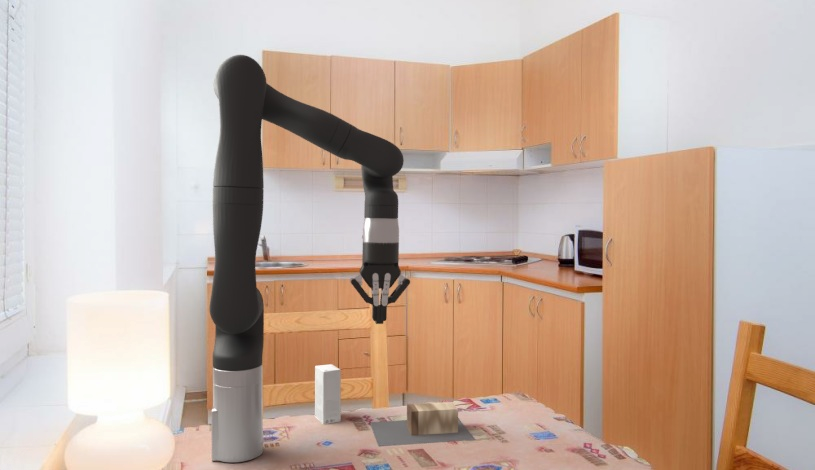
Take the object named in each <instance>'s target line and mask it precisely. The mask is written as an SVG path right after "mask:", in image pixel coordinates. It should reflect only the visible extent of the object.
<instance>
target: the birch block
mask: <svg viewBox="0 0 815 470" xmlns="http://www.w3.org/2000/svg"><path fill="white" fill-rule="evenodd" d="M458 418H459V409H458V407H457V406H456V405H455V403H454V402H453V401H445V402H444V401H442V402H425V403H422V402H421V403H407V404H406V420H407V428H408V430H409V432H410V434H411V436H412V435H427V434H443V433H458Z"/></svg>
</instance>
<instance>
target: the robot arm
mask: <svg viewBox="0 0 815 470" xmlns="http://www.w3.org/2000/svg"><path fill="white" fill-rule="evenodd" d="M213 91H214V93H215V95H216V98H217V100H218V107H219V125H220V127H219V138H218V144H217V150H216V156H215V162H214V169H213V170H214V171H213V179H212V180H213V181H212V226H213V227H212V228H213V242H214V243H213V244H214V245H213V246H214V270H213V279H212V287H211V293H210V299H209V301H210V302H209V314H210V317H211V320H212V322H213V324H214V325H215V328H214V329H215V335H214V346H213V352H212V408H211V413H210V414H211V419H210V420H211V425H210V426H211V461H214V462H215V461H218V462H224V463H242V462H247V461H251V460H253V459H256V458H258V457H259V456H261V455H262V454H263V451H264V432H263V431H264V423H263V420H264V416H263V414H264V413H263V412H264V409H263V405H264V403H263V397H264V395H263V390H264V389H263V386H264V385H263V382H264V381H263V377H264V376H263V375H264V374H263V356H264V355H263V354H264V341H265V339H264V336H265V335H264V332H265V331H264V328H265V326H264V325H265V322H264V321H265V317H264V316H265V315H264V314H265V310H264V309H265V306H264V305H265V304H264V298H263V294H262V293H261V291H260V290H259V288H258V287H257V276H256V270H257V269H256V261H257V260H256V258H257V250H258V246H259V245H258V244H259V240H260V235H261V229H262V224H263V223H262V222H263V213H264V192H265V191H264V188H265V187H264V162H263V160H264V159H263V148H262V147H263V145H262V122H263V121H265V122H268V123H271V124H273V125H276V126H278V127H280V128H283V129H284V130H287V131H288V132H290V133H292V134H294V135H296V136H298V137H299V138H301V139H303V140H305V141H307V142H309V143H311V144H313V145H314V146H317V147H319V148H320V149H322V150H324V151H325V152H327V153H329V154H332V155H333V156H336V157H338V158H340V159H343V160H346V161H352V162H355V163H357V164H359V165H360V166H361V170H360V171H361V178H362V179H361V180H362V187H363V192H364V210H363V211H364V212H363V213H364V214H363V215H364V218H363V220H364V221H363V228H362V237H361V239H362V256H361V257H362V260H361V261H362V262H361V263H362V264H361V268H360V269H359V274H357V275H356V276H354V277H351V278H350V280H349V283H350V284H351V285H352V286H353V288H354V289H355V290H356V291H357V292H358V294H359V295H360V298H362V299H363V300H364V302H365V303H366V304H369V305H371V306H372V308H371V309H372V310H371V311H372V312H371V313H372V314H371V318H372V321H373V322H374V323H375V324H376V325H383V324H384V322H386V321H387V310H388V309H387V308H388V305H389V304H395V303H396V302H397V300H398V299H399V298H400V296H401V295H402V294H403V293H404V291H406V289H407V288H408V287H409V285H410V284H411V279H409V278H406V277H405V276H404V275H403V274H402V271H401V269H400V266H399V261H400V260H399V256H400V255H399V252H400V250H399V248H400V227H399V197H398V194H397V192H396V191H395V190H394V180H393V178H394V177H393V176H396V175H397V174H398V173H399V172H401V170H402V169H403V166H404V154H403V153H402V151H401V149H400V148H399V147H398V146H397V145H395V144H394V143H393V142H391V141H389V140H388V139H385V138H383V137H380V136H378V135H375V134H373V133H370V132H368V131H364V130H362V129H359V128H358V127H357V126H354V125H353V124H352V123H349V122H347V121H346V120H344V119H342V118H341V117H338V116H336V115H335V114H333V113H331V112H329V111H326V110H323V109H320V108H319V107H315V106H312V105H311V104H307V103H304V102H301V101H299V100H297V99H294V98H292V97H290V96H287V95H286V94H284V93H282V92H281V91H278V90H277V89H276V88H274V87H273V86H272V85H270V84H268V83H267V78H266V74H265V71H264V69H263V68H262V66H261V65H260V63H259V62H258V61H257V60H255V59H254V58H252V57H251V56H249V55H246V54H236V55H232V56H230V57H228V58H227V59H225V60H223V62H221V64H220V65H219V66H218V67H217V69H216V73H215V76H214V80H213ZM362 279H363V280H362ZM363 281H364V282H365V283H366V285H367V286H368V287H369V288H370V294H371V296H369V295H368V293H367V292H366V290H364V288H363V287H362V285H363ZM396 281H397V282H396ZM395 283H397V286H396V287H395V288H394V290H393V291H392V292H391V294H390V289H391V288H392V287H393V285H394V284H395ZM389 294H390V295H389Z"/></svg>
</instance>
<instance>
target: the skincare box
mask: <svg viewBox="0 0 815 470" xmlns="http://www.w3.org/2000/svg"><path fill="white" fill-rule="evenodd" d="M341 370H342V369H340V368H338V367H337V366H335V365H334V364H333V363H330V364H322V365H320V364H319V365H315V366H314V372H315V373H314V417H315V418H316V419H317V420H318V421H319V422H320V423H321V424H322V425H328V424H333V423H335V424H336V423H340V422H342V421H341V420H342V419H341V418H342V415H341V413H342V411H341V410H342V407H341V406H342V404H341V403H342V402H341V401H342V398H341V396H342V392H341V391H342V389H341V388H342V385H341V383H342V382H341V381H342V380H341V379H342V378H341V377H342V375H341V374H342V372H341ZM315 415H316V416H315Z"/></svg>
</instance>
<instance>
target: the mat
mask: <svg viewBox="0 0 815 470" xmlns="http://www.w3.org/2000/svg"><path fill="white" fill-rule="evenodd" d="M369 424H370V427H371V430H372V433H373V435H374V438H375V441H376V444H377V446H378V447H389V446H402V445H418V444H419V445H420V444H434V443H449V442H461V441H463V442H464V441H476V438H475V437H474V436H473V434H471V431H469V429H468V428H467V427H466V426H465V425H464V423H463V422H462V420H461V419H460V418H459V417H458V433H443V434H427V435H412V436H411V434H410V432H409V430H408V428H407V419H403V420H402V419H401V420H388V421H387V420H385V421H370V422H369Z"/></svg>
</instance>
